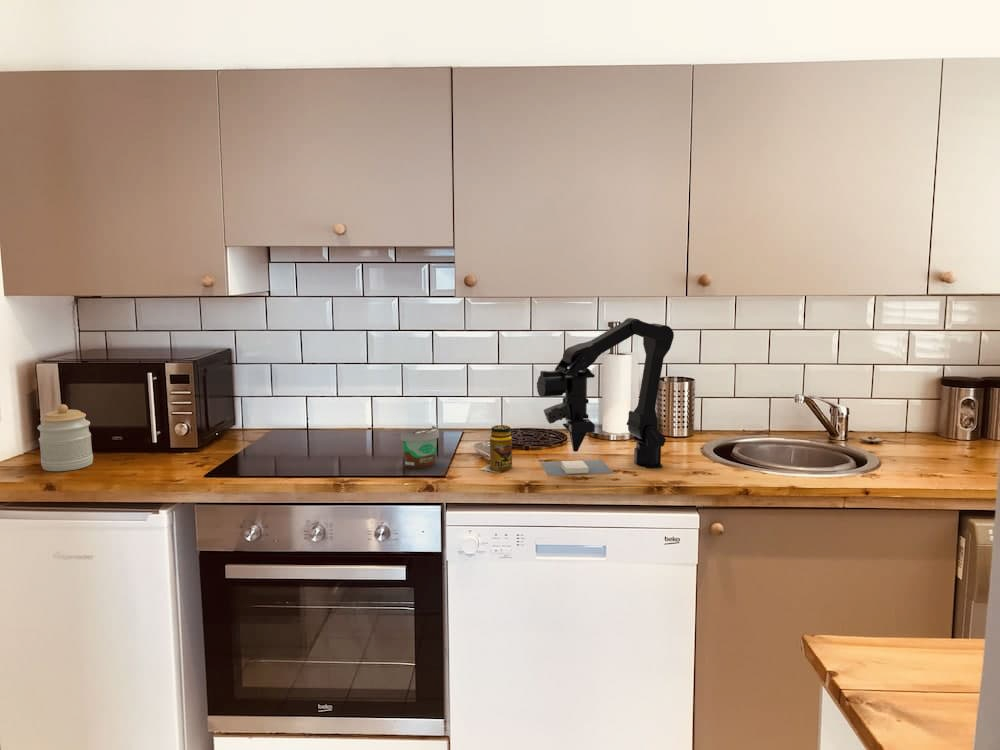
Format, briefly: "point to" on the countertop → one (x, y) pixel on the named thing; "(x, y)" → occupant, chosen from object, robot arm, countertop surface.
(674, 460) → the countertop surface
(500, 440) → the condiment
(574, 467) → the tile
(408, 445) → the food container
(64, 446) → the jar
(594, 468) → the mat
